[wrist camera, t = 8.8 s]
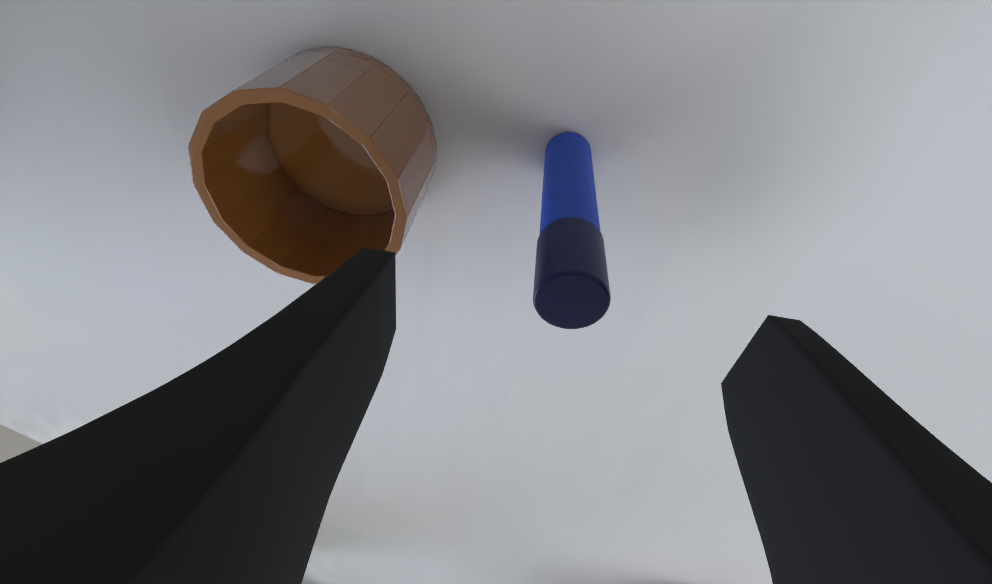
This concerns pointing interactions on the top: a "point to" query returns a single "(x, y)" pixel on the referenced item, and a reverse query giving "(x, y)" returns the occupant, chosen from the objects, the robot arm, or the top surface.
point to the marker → (570, 239)
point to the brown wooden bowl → (315, 161)
